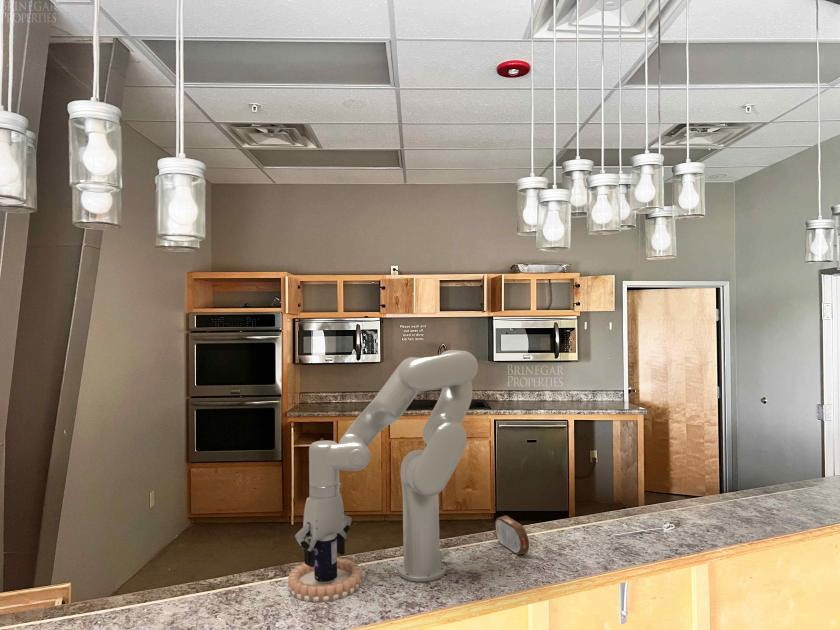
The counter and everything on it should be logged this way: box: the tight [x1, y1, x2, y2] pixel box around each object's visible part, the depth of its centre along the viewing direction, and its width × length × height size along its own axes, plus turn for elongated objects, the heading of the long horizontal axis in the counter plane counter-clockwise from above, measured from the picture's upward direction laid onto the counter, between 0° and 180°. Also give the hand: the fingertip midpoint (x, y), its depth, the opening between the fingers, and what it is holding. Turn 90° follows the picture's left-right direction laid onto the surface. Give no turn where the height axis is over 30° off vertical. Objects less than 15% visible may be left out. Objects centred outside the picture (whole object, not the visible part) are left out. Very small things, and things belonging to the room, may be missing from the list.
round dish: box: [287, 557, 363, 603], centre depth 136 cm, size 18×18×3 cm
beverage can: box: [313, 532, 338, 584], centre depth 137 cm, size 6×6×12 cm
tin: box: [494, 515, 530, 556], centre depth 157 cm, size 15×3×8 cm, turn 22°
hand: (325, 559), depth 137 cm, fingers open, 9 cm apart
